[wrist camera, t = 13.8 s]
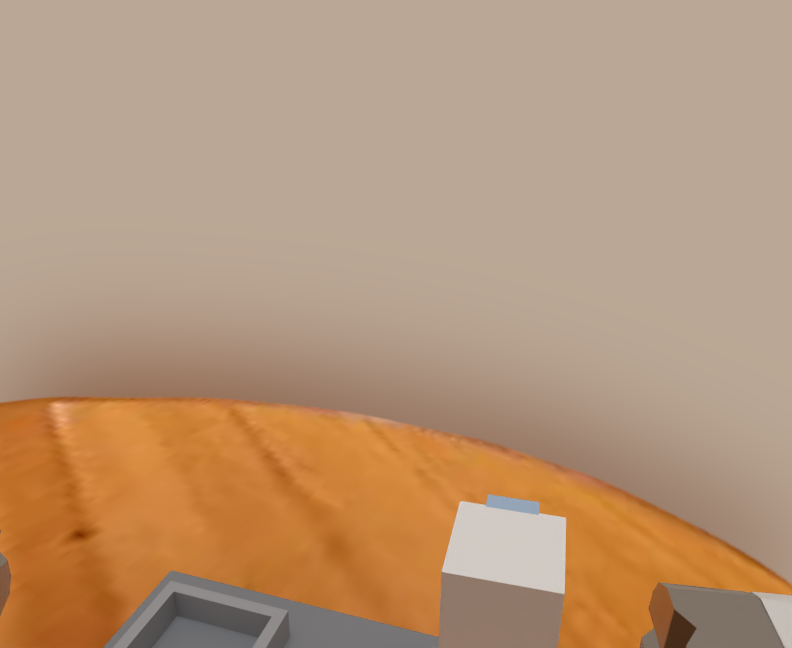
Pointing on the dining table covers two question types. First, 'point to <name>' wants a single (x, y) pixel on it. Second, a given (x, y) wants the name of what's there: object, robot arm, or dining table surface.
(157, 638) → the grey flat plate
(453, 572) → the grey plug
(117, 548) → the dining table surface
